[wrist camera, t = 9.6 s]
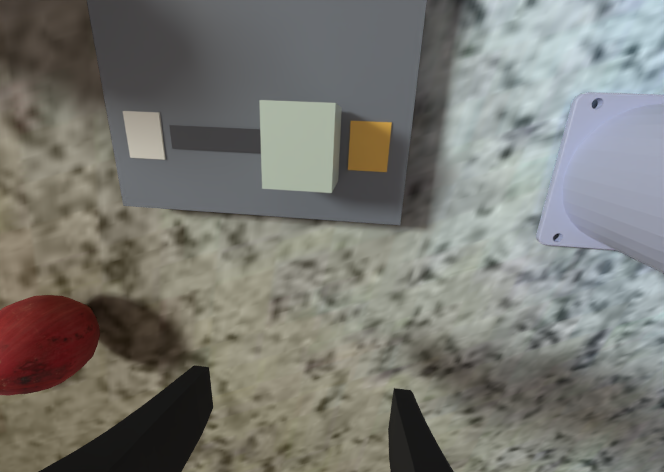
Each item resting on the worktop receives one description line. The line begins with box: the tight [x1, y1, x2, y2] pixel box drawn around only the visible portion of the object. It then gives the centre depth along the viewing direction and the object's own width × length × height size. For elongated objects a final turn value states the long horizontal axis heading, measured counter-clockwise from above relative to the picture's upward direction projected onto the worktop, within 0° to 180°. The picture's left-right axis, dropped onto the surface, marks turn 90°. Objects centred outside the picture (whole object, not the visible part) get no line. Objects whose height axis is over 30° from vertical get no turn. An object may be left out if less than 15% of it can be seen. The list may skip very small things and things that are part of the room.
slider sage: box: [259, 100, 342, 193], centre depth 14 cm, size 3×4×3 cm
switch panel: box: [87, 0, 427, 225], centre depth 16 cm, size 16×18×2 cm
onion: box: [0, 295, 100, 395], centre depth 20 cm, size 6×6×8 cm
